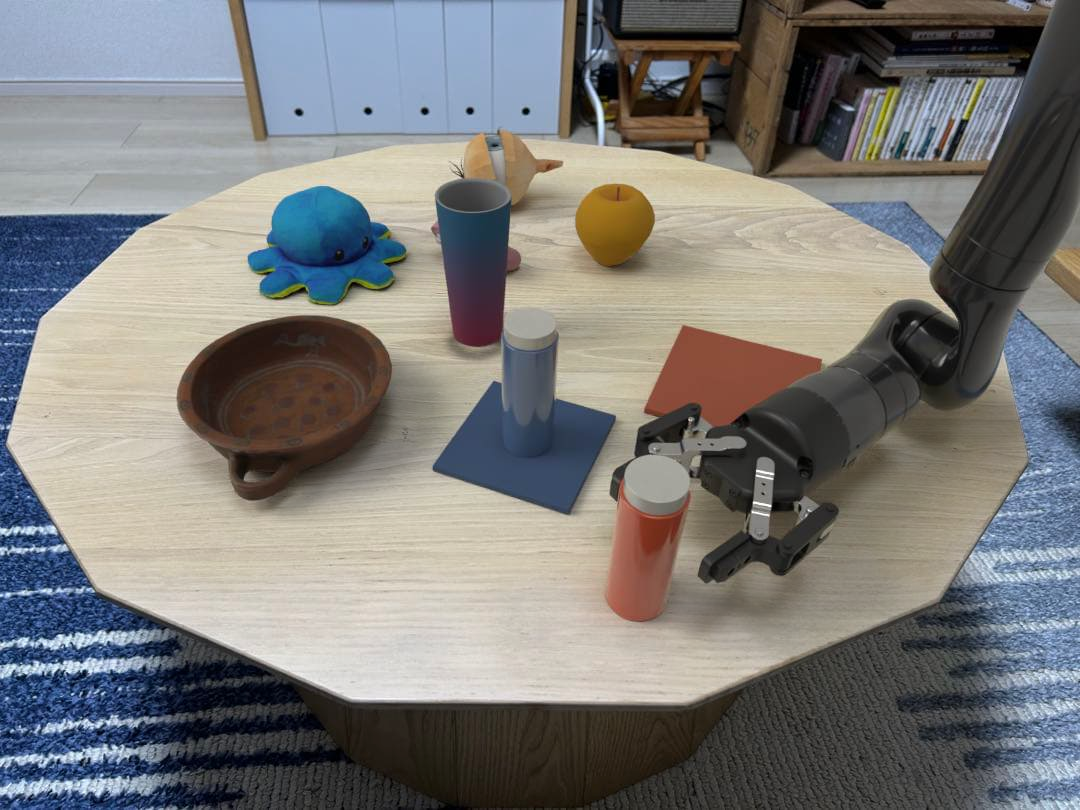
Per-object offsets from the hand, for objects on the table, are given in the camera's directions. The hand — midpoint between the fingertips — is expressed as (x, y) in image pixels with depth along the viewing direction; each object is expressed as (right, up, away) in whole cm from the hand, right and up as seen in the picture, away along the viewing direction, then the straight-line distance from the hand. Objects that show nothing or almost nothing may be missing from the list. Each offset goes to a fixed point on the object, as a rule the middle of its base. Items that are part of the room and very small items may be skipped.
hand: (656, 529), depth 51 cm
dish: (-29, +7, +17) cm, 34 cm away
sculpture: (-12, +34, +48) cm, 61 cm away
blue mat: (-9, +5, +15) cm, 18 cm away
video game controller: (-15, +24, +37) cm, 47 cm away
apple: (+1, +25, +38) cm, 46 cm away
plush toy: (-32, +24, +36) cm, 54 cm away
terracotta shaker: (-1, -5, +4) cm, 7 cm away
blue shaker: (-9, +5, +15) cm, 18 cm away
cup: (-14, +16, +27) cm, 34 cm away
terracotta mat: (+11, +10, +21) cm, 26 cm away
